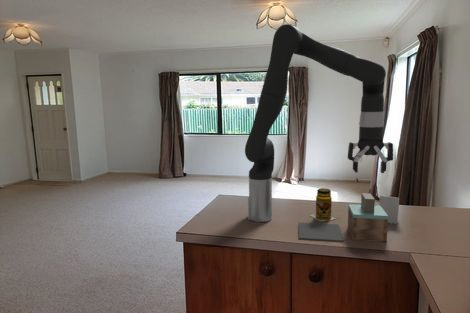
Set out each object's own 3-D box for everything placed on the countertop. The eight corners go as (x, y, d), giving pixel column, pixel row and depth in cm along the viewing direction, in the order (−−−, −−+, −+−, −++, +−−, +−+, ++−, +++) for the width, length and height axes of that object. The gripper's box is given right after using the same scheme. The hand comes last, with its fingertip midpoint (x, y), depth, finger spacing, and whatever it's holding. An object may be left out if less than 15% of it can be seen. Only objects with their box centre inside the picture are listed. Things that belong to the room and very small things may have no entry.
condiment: (321, 222, 129) (322, 192, 127) (308, 215, 137) (309, 187, 135) (336, 219, 132) (337, 190, 130) (323, 212, 139) (323, 185, 137)
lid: (353, 217, 110) (354, 200, 109) (348, 207, 121) (349, 191, 120) (388, 219, 108) (389, 201, 107) (380, 208, 119) (380, 192, 118)
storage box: (352, 240, 112) (353, 217, 110) (347, 227, 122) (348, 207, 121) (386, 242, 110) (388, 219, 108) (378, 229, 120) (380, 208, 119)
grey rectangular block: (397, 224, 125) (398, 199, 123) (378, 221, 129) (379, 196, 127) (397, 221, 128) (399, 196, 127) (379, 218, 132) (380, 194, 130)
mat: (298, 239, 113) (298, 237, 113) (298, 223, 128) (298, 222, 128) (344, 241, 110) (344, 240, 110) (338, 225, 125) (338, 224, 125)
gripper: (350, 126, 107) (349, 174, 110) (397, 126, 105) (394, 175, 107) (347, 124, 115) (346, 169, 117) (390, 124, 112) (388, 170, 115)
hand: (369, 172), depth 112 cm, fingers open, 8 cm apart
